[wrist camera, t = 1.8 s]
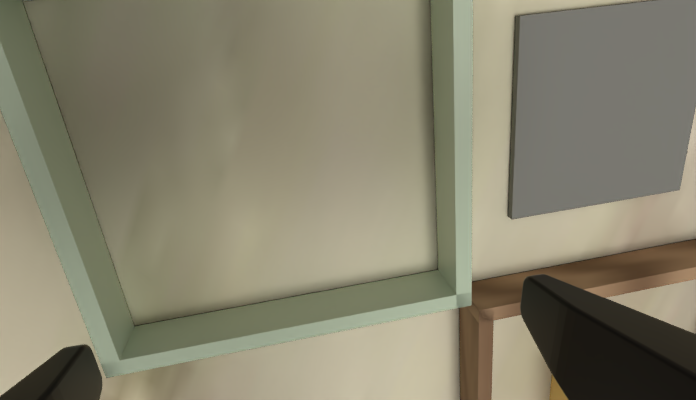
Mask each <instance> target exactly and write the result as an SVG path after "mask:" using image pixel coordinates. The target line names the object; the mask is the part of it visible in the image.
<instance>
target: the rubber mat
mask: <svg viewBox="0 0 696 400" xmlns="http://www.w3.org/2000/svg"><path fill="white" fill-rule="evenodd" d="M695 107H696V0H653V1H644V2H635V3H626V4H618V5H609V6H600V7H591V8H583V9H574V10H565V11H556V12H548V13H539V14H530V15H521V16H516V20H515V47H514V73H513V100H512V127H511V153H510V180H509V206H508V217H509V218H511V219H517V218H523V217H529V216H534V215H540V214H546V213H552V212H557V211H563V210H569V209H574V208H580V207H586V206H592V205H597V204H603V203H609V202H614V201H620V200H626V199H632V198H637V197H643V196H649V195H654V194H660V193H666V192H671V191H677V190H680V185H681V180H682V175H683V170H684V164H685V159H686V154H687V149H688V144H689V138H690V133H691V128H692V123H693V118H694V112H695Z"/></svg>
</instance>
